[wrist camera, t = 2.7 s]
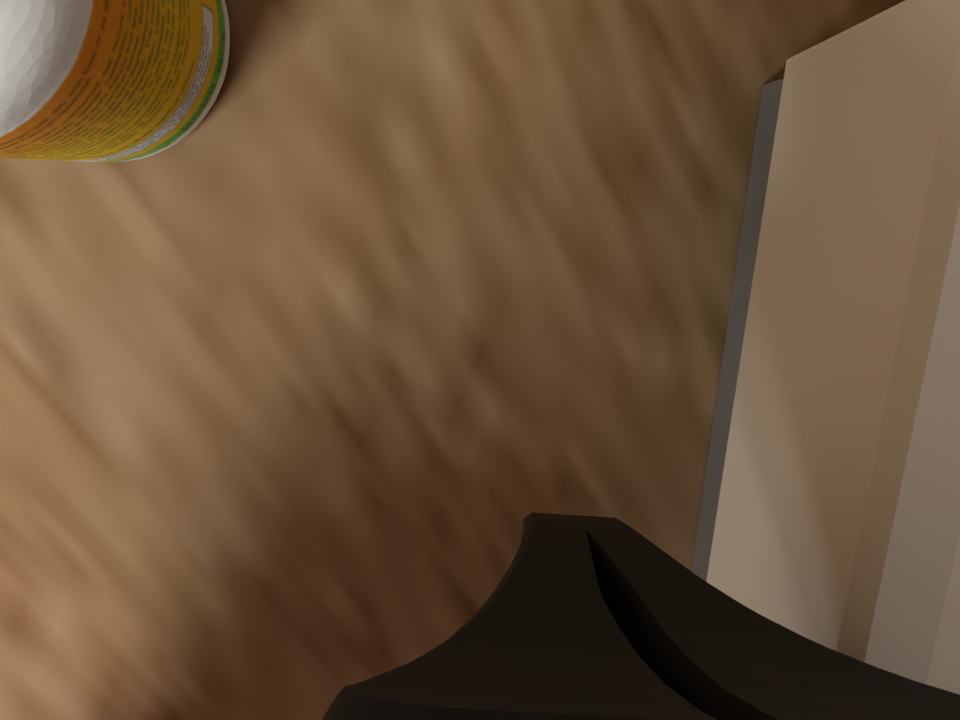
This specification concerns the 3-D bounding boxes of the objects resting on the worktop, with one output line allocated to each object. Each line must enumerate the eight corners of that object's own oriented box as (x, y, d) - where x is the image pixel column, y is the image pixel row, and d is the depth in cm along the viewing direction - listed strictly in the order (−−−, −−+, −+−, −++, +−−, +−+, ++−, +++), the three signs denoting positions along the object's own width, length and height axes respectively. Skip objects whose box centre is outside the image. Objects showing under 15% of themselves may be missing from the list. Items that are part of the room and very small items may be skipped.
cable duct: (936, 869, 22) (1007, 977, 19) (648, 854, 22) (676, 960, 19) (1123, 114, 17) (1257, 101, 14) (762, 84, 17) (822, 65, 14)
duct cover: (785, 1571, 10) (678, 1552, 11) (680, 977, 18) (620, 969, 18) (1215, -94, 6) (1023, -104, 6) (833, 63, 14) (751, 56, 14)
